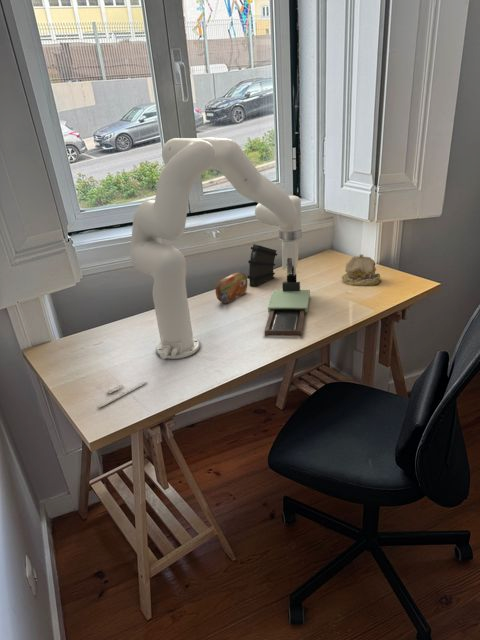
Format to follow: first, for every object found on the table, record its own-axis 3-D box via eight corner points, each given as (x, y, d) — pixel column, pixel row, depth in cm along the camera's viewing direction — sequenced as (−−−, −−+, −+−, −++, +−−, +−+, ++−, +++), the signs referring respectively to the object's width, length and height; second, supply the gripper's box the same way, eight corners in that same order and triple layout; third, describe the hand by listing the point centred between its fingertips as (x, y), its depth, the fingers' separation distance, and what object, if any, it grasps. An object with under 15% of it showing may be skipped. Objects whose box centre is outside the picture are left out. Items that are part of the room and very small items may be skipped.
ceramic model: (339, 284, 186) (339, 258, 181) (345, 273, 195) (346, 248, 190) (377, 287, 181) (378, 260, 176) (382, 276, 190) (383, 250, 185)
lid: (307, 312, 162) (306, 299, 160) (268, 312, 164) (267, 298, 162) (309, 294, 175) (309, 281, 173) (273, 294, 177) (273, 281, 175)
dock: (301, 338, 150) (300, 330, 149) (264, 337, 152) (264, 330, 151) (307, 298, 176) (307, 291, 175) (276, 298, 178) (276, 291, 177)
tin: (222, 306, 174) (219, 283, 170) (215, 304, 176) (212, 282, 172) (248, 291, 185) (247, 270, 180) (242, 290, 186) (240, 268, 182)
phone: (295, 333, 151) (294, 331, 151) (271, 333, 152) (271, 331, 152) (298, 314, 163) (298, 311, 163) (276, 314, 164) (276, 311, 164)
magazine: (242, 283, 188) (251, 243, 185) (264, 287, 198) (273, 250, 195) (249, 285, 186) (259, 245, 183) (271, 289, 196) (281, 251, 193)
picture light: (99, 408, 124) (98, 401, 123) (90, 402, 127) (88, 395, 126) (145, 384, 133) (144, 377, 132) (136, 378, 135) (134, 372, 134)
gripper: (281, 228, 174) (283, 277, 183) (276, 241, 162) (279, 293, 170) (302, 227, 173) (303, 277, 182) (299, 240, 160) (301, 293, 169)
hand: (291, 285), depth 176 cm, fingers closed
